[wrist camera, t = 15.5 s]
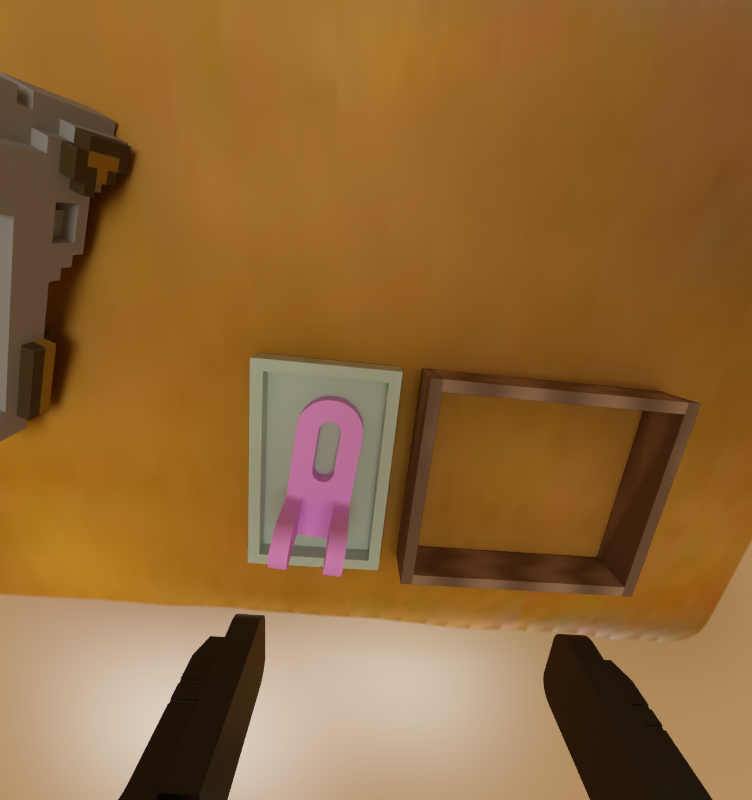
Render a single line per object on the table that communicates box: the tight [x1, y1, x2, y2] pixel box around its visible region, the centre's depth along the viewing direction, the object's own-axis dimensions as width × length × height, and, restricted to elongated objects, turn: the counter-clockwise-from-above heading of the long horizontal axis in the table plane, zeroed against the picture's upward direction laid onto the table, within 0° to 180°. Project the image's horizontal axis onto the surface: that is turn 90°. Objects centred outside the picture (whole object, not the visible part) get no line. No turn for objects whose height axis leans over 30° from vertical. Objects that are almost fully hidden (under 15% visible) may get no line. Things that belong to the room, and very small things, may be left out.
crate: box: [397, 369, 701, 597], centre depth 32 cm, size 22×19×4 cm
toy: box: [0, 72, 131, 442], centre depth 25 cm, size 6×24×10 cm, turn 153°
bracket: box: [267, 396, 363, 577], centre depth 29 cm, size 13×6×7 cm, turn 169°
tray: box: [248, 353, 403, 570], centre depth 32 cm, size 12×19×2 cm, turn 174°
